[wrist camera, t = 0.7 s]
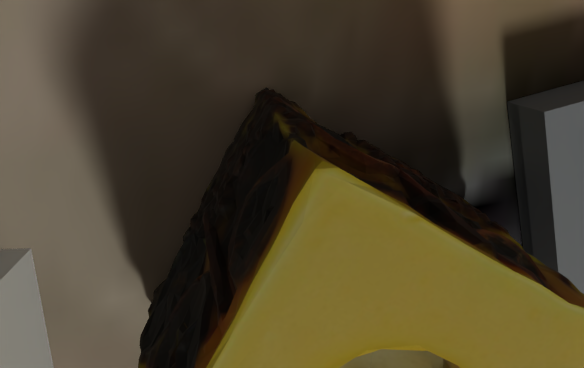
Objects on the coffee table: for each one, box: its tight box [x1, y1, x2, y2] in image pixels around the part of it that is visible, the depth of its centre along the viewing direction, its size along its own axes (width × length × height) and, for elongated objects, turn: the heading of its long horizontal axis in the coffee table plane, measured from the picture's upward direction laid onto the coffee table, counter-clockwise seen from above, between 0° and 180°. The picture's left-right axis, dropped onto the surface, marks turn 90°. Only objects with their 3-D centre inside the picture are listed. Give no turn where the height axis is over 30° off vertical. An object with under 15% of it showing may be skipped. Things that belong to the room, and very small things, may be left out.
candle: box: [138, 88, 584, 368], centre depth 18 cm, size 10×10×10 cm
